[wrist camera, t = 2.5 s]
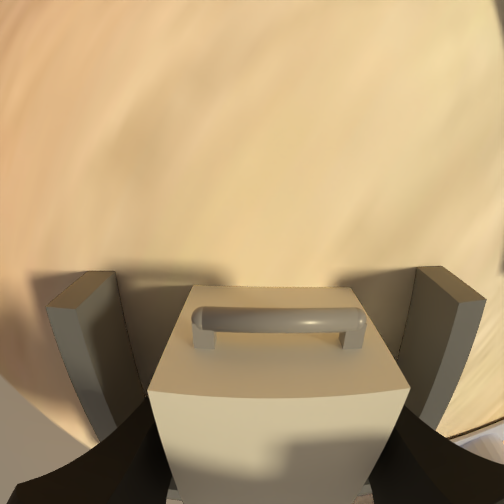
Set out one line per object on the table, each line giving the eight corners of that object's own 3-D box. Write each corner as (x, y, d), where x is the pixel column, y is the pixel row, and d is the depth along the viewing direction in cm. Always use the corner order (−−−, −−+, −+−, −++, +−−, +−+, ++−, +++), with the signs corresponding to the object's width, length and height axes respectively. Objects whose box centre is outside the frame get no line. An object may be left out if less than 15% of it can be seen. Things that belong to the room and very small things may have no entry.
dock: (386, 446, 14) (401, 486, 11) (143, 450, 14) (130, 492, 11) (442, 266, 10) (486, 299, 8) (88, 271, 11) (45, 306, 8)
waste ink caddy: (320, 432, 13) (337, 526, 8) (207, 431, 13) (192, 527, 8) (352, 259, 11) (424, 350, 5) (192, 256, 11) (138, 351, 5)
